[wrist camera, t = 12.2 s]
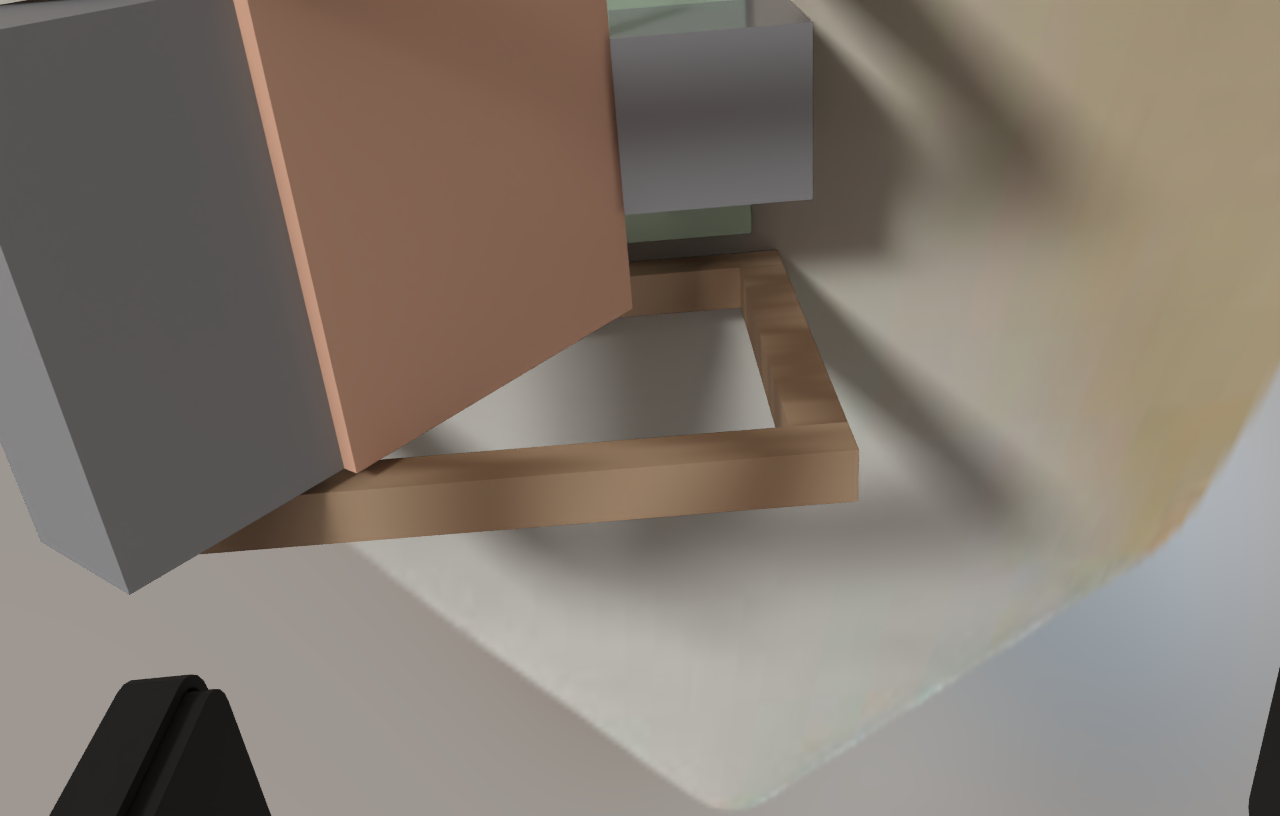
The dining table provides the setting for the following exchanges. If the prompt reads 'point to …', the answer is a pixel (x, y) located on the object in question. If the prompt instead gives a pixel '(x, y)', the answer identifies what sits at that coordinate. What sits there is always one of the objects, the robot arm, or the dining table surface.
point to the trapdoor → (282, 245)
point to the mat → (682, 220)
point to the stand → (614, 443)
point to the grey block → (713, 104)
